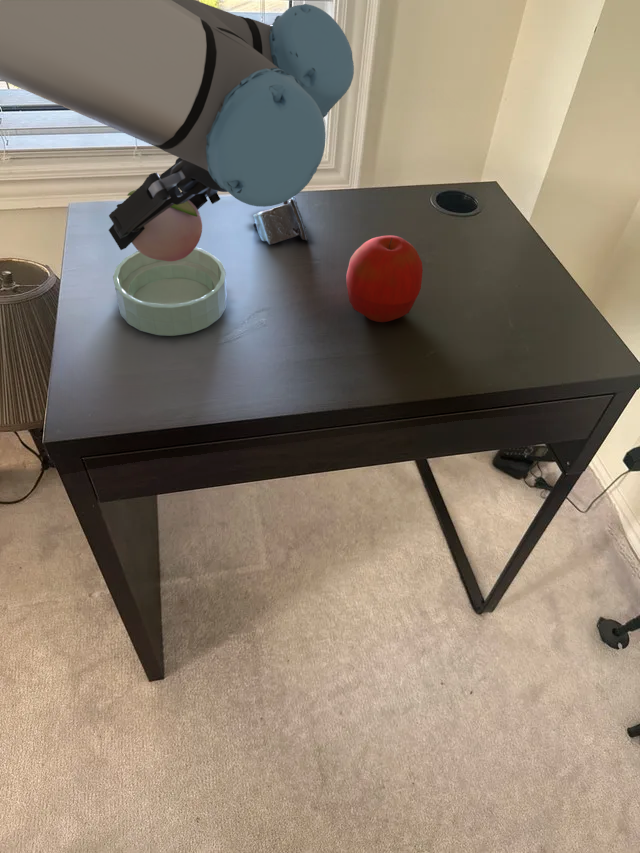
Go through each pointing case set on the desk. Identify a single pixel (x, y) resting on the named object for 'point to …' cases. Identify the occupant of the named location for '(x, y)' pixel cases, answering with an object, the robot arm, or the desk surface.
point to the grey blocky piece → (280, 223)
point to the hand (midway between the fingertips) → (148, 225)
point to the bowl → (171, 292)
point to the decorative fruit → (171, 233)
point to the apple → (384, 278)
